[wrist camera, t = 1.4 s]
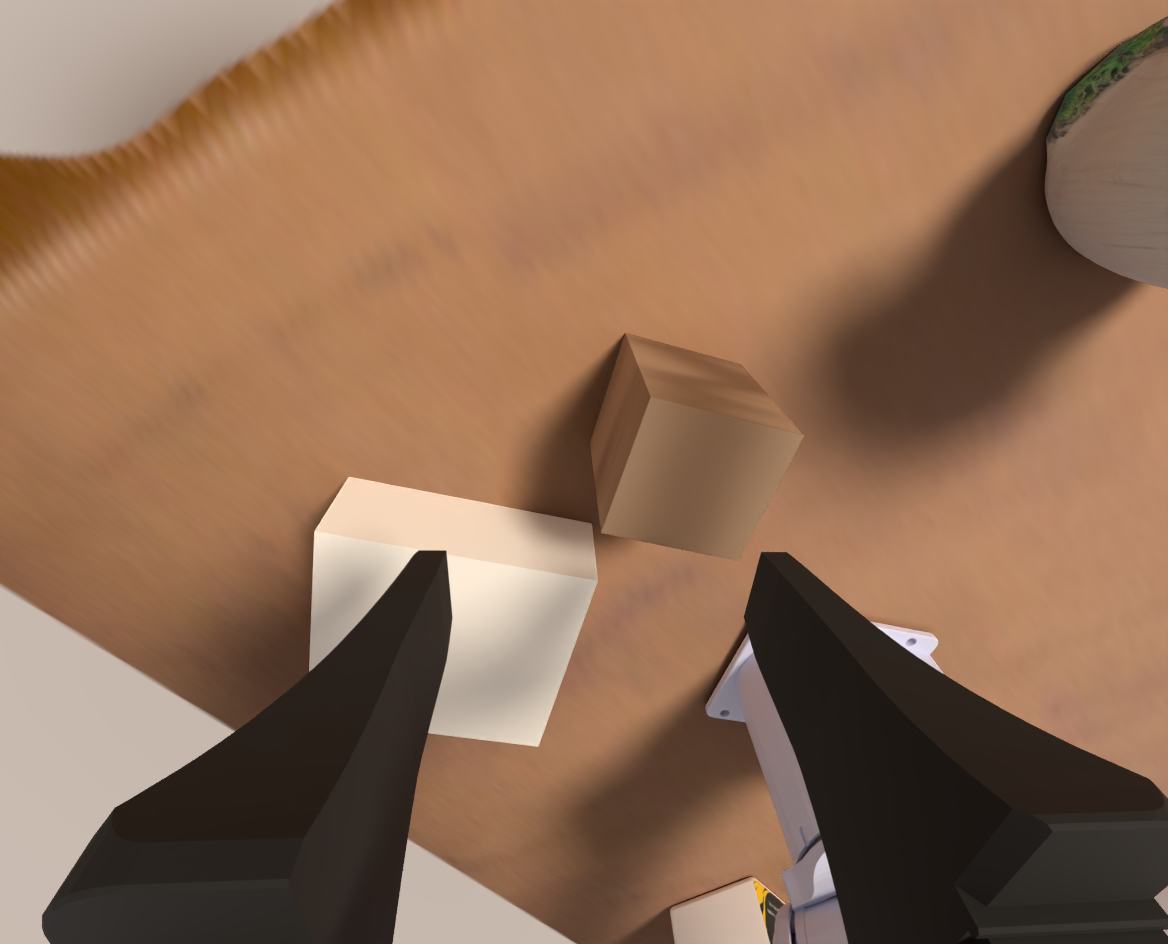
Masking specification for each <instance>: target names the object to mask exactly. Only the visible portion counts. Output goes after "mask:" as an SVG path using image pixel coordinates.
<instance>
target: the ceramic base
mask: <svg viewBox="0 0 1168 944" xmlns="http://www.w3.org/2000/svg"><path fill="white" fill-rule="evenodd" d="M418 550H446V552H447V563H448V573H449V584H450V595H451V606H452V617H453V619H452V626H451V634H450V641H449V648H448V655H447V661H446V665H445V669H444V673H443V677H442V681H441V685H440V689H439V693H438V696H437V700H436V704H435V708H434V712H433V716H432V719H431V723H430V727H429V731H428V733H431V734H439V735H447V736H455V737H464V738H472V739H480V740H488V741H497V742H505V743H513V744H521V745H529V746H539V743H540V741H541V738H542V735H543V732H544V730H545V727H546V724H547V721H548V718H549V716H550V713H551V710H552V707H553V704H554V702H555V699H556V696H557V693H558V690H559V688H560V685H561V682H562V679H563V677H564V674H565V671H566V668H567V665H568V663H569V660H570V657H571V654H572V651H573V649H574V646H575V643H576V640H577V638H578V635H579V632H580V629H581V626H582V624H583V621H584V618H585V615H586V612H587V610H588V607H589V604H590V601H591V599H592V596H593V593H594V590H595V587H596V585H597V582H598V578H597V568H596V558H595V548H594V538H593V529H592V523H587V522H582V521H576V520H571V519H566V518H561V517H556V516H550V515H545V514H540V513H535V512H530V511H524V510H519V509H514V508H509V507H504V506H498V505H493V504H488V503H483V502H478V501H472V500H467V499H462V498H457V497H452V496H446V495H441V494H436V493H431V492H426V491H420V490H415V489H410V488H405V487H400V486H394V485H389V484H384V483H379V482H374V481H369V480H363V479H358V478H353V477H348V479H347V480H346V482H345V483H344V485H343V487H342V488H341V490H340V491H339V493H338V494H337V496H336V498H335V499H334V501H333V502H332V504H331V506H330V507H329V509H328V510H327V512H326V514H325V515H324V517H323V518H322V520H321V522H320V523H319V525H318V526H317V528H316V529H315V531H314V555H313V581H312V608H311V634H310V660H309V672H310V671H311V670H312V669H313V668H314V667H315V666H316V665H317V664H319V663H320V662H321V661H322V660H323V659H324V658H325V657H326V656H327V655H328V654H329V653H330V652H331V651H332V650H333V649H334V648H335V647H336V646H337V645H338V644H339V643H340V642H341V641H342V640H343V639H344V638H345V637H346V635H347V634H348V633H349V632H350V631H351V630H352V629H353V628H354V627H355V626H356V625H357V624H358V623H359V622H360V621H361V620H362V618H363V617H364V616H365V615H366V614H367V613H368V612H369V610H370V609H371V608H372V607H373V606H374V604H375V603H376V602H377V601H378V600H379V599H380V597H381V596H382V595H383V594H384V593H385V591H386V590H387V589H388V588H389V586H390V585H391V584H392V583H393V581H394V580H395V579H396V578H397V576H398V575H399V574H400V572H401V571H402V570H403V568H404V567H405V566H406V564H407V563H408V562H409V560H410V559H411V558H412V556H413V555H414V554H415V553H416V552H417V551H418Z"/></svg>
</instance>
